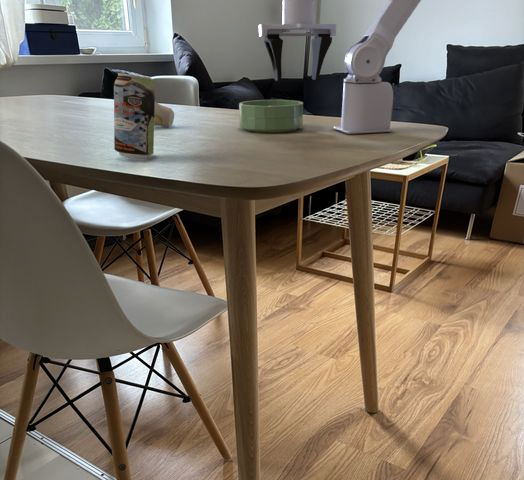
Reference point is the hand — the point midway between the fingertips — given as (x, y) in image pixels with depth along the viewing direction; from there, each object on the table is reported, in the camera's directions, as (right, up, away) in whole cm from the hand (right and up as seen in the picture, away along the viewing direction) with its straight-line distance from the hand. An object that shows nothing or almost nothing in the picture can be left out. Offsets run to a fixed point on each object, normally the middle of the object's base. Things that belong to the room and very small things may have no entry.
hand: (296, 80), depth 99 cm
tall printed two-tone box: (-27, -22, -18) cm, 39 cm away
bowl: (-5, -6, +9) cm, 12 cm away
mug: (-31, -4, +12) cm, 34 cm away
